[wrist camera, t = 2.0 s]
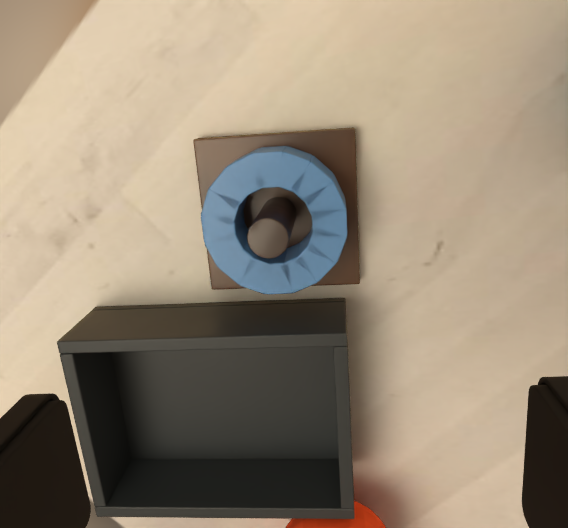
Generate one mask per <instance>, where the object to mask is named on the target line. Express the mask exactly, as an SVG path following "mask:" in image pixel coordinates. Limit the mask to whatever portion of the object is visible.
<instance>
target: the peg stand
mask: <svg viewBox="0 0 568 528" xmlns="http://www.w3.org/2000/svg"><path fill="white" fill-rule="evenodd" d="M276 146H287V147H292V148H295V149H298V150H301V151H303V152H306V153H309V154H312V155H313V156H315V157H316V158H317V159H318V160H319V161H321V162H322V163H323V164H324V165H325V166H326V167H327V168H328V169H329V170H331V171H332V172H333V174H334V175H335V177H336V179H337V181H338V184H339V186H340V188H341V190H342V192H343V194H344V196H345V201H346V210H347V239H346V242H345V244H344V247H343V249H342V252H341V255H340V257H339V260H338V262H337V263H336V264H335V265H334V267H333V268H332V269H331V270H330V271H329V272H328V273H327V274H326V275H325V276H324V277H323V278H322V279H321V280H320V281H319V282H317V283H315V284H313V285H311V286H316V285H342V284H359V283H360V274H359V241H358V209H357V177H356V145H355V129H354V128H339V129H325V130H310V131H296V132H282V133H268V134H254V135H239V136H225V137H211V138H198V139H195V140H194V149H195V157H196V165H197V173H198V181H199V189H200V197H201V205H202V209H203V205H204V202H205V198H206V195H207V191H208V189H209V187H210V186H211V185H212V183H213V182H214V181H215V180H216V179H217V177H218V176H219V175H220V174H221V172H222V171H223V170H224V169H225V168H226V167H227V166H228V165H229V164H231V163H232V162H234V161H235V160H237V159H239V158H241V157H243V156H245V155H246V154H248V153H250V152H252V151H254V150H256V149H258V148H262V147H276ZM243 211H244V221H245V225H246V226H247V228H248V234H247V241H248V245H249V247H250V249H251V250H252V251H253V252H254V253H255V254H256V255H258V256H260V257H262V258H267V259H270V258H275V257H278V256H280V255H281V254H282V253H284V251H285V250H286V249H287V248H289V247H291V246H294V245H296V244H298V243H300V242H301V241H302V240H303V239H304V238H305V237H306V236H307V235H308V234H309V233H310V230H311V227H312V216H311V214H310V212H309V210H308V208H307V206H306V204H305V202H304V201H303V200H301V199H300V198H299V197H298V196H297V195H296V194H295V193H293V192H291V191H288V190H286V189H283V188H280V187H272V188H262V189H260V190H258V191H256V192H254V193H252V194H250V195H248V197H247V200H246V203H245V206H244V209H243ZM207 254H208V262H209V270H210V278H211V286H212V289H238V288H245V287H242V286H240V284H237V283H236V282H235V281H233V280H232V279H231V278H230V277H229V276H227V275H226V274H225V273H224V272H223V271H221V270H220V269H219V267H217V265H216V264H215V262H214V260H213V258H212V257H211V255H210V253H209V251H208V249H207Z"/></svg>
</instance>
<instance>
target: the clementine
mask: <svg viewBox="0 0 568 528" xmlns="http://www.w3.org/2000/svg"><path fill="white" fill-rule="evenodd" d="M354 514H355V518H354V519H291V521H290V522H289V523H288V525H287V526H286V528H386V527H385V525H384V524H383V523H382V521H381V520H380V518H379V517H378V516H377V515H376V514H375V513H374V512H373V511H372V510H370V509H369V508H367V507H365V506H364V505H362V504H360V503H358V502H356V501H354Z"/></svg>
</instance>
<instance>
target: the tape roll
mask: <svg viewBox="0 0 568 528" xmlns="http://www.w3.org/2000/svg"><path fill="white" fill-rule="evenodd" d="M272 187H280V188H283V189H286V190H288V191H291V192H293V193H295V194H296V195H297V196H298V197H299V198H300V199H301V200H303V201H304V202H305V204H306V206H307V208H308V210H309V212H310V214H311V216H312V227H311V230H310V233H309V234H308V235H307V236H306V237H305V238H304V239H303V240H302V241H301V242H300V243H298V244H296V245H294V246H291V247H289V248H287V249H286V250H285V251H284V253H282V254H281V255H280V256H278V257H275V258H270V259H267V258H262V257H260V256H258V255H256V254H255V253H254V252H253V251H252V250H251V249H250V247H249V245H248V241H247V234H248V228H247V226H246V225H245V221H244V211H243V209H244V206H245V203H246V200H247V197H248V195H250V194H252V193H254V192H256V191H258V190H260V189H262V188H272ZM201 221H202V229H203V237H204V242H205V246H206V248H207V249H208V251H209V253H210V255H211V257H212V258H213V260H214V262H215V264H216V265H217V267H219V269H220V270H221V271H223V272H224V273H225V274H226V275H227V276H229V277H230V278H231V279H232V280H233V281H235V282H236V283H237V284H240V286H242V287H245V288H248V289H251V290H254V291H257V292H260V293H263V294H288V293H295V292H297V291H299V290H302V289H304V288H306V287H309V286H311V285H313V284H315V283H317V282H319V281H320V280H321V279H322V278H323V277H324V276H325V275H326V274H327V273H328V272H329V271H330V270H331V269H332V268H333V267H334V265H335V264H336V263H337V262H338V260H339V257H340V255H341V252H342V249H343V247H344V244H345V242H346V239H347V210H346V201H345V196H344V194H343V192H342V190H341V188H340V186H339V184H338V181H337V179H336V177H335V175H334V174H333V172H332V171H331V170H329V169H328V168H327V167H326V166H325V165H324V164H323V163H322V162H321V161H319V160H318V159H317V158H316V157H315V156H313V155H312V154H309V153H306V152H303V151H301V150H298V149H295V148H292V147H287V146H276V147H262V148H258V149H256V150H254V151H252V152H250V153H248V154H246V155H245V156H243V157H241V158H239V159H237V160H235V161H234V162H232V163H231V164H229V165H228V166H227V167H226V168H225V169H224V170H223V171H222V172H221V174H220V175H219V176H218V177H217V179H216V180H215V181H214V182H213V183H212V185H211V186H210V187H209V189H208V191H207V195H206V198H205V202H204V205H203V209H202V212H201Z"/></svg>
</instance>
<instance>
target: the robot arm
mask: <svg viewBox="0 0 568 528" xmlns="http://www.w3.org/2000/svg"><path fill="white" fill-rule="evenodd" d="M522 507H523V512H524V516H525V519H526V522H527V524H528V526H529V528H568V376H564V377H542V378H541V379H540V380H539V382H538V385H532V386H530V389H529V396H528V411H527V427H526V443H525V458H524V474H523V490H522ZM90 509H91V508H90V501H89V497H88V492H87V488H86V484H85V480H84V475H83V471H82V467H81V463H80V459H79V454H78V450H77V446H76V442H75V437H74V433H73V429H72V425H71V420H70V416H69V412H68V408H67V405H66V403H65V402H64V401H62V400H59V398H58V397H57V395H55V394H29V395H25V396H23V397H22V398H21V399H20V400H19V401H18V402H17V403H16V404H15V405H14V406H13V407H12V408H11V409H10V410H9V411H8V412H7V413H6V414H5V415H3V416H2V417H1V418H0V528H85V527H86V526H87V524H88V521H89V518H90V512H91V511H90Z"/></svg>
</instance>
